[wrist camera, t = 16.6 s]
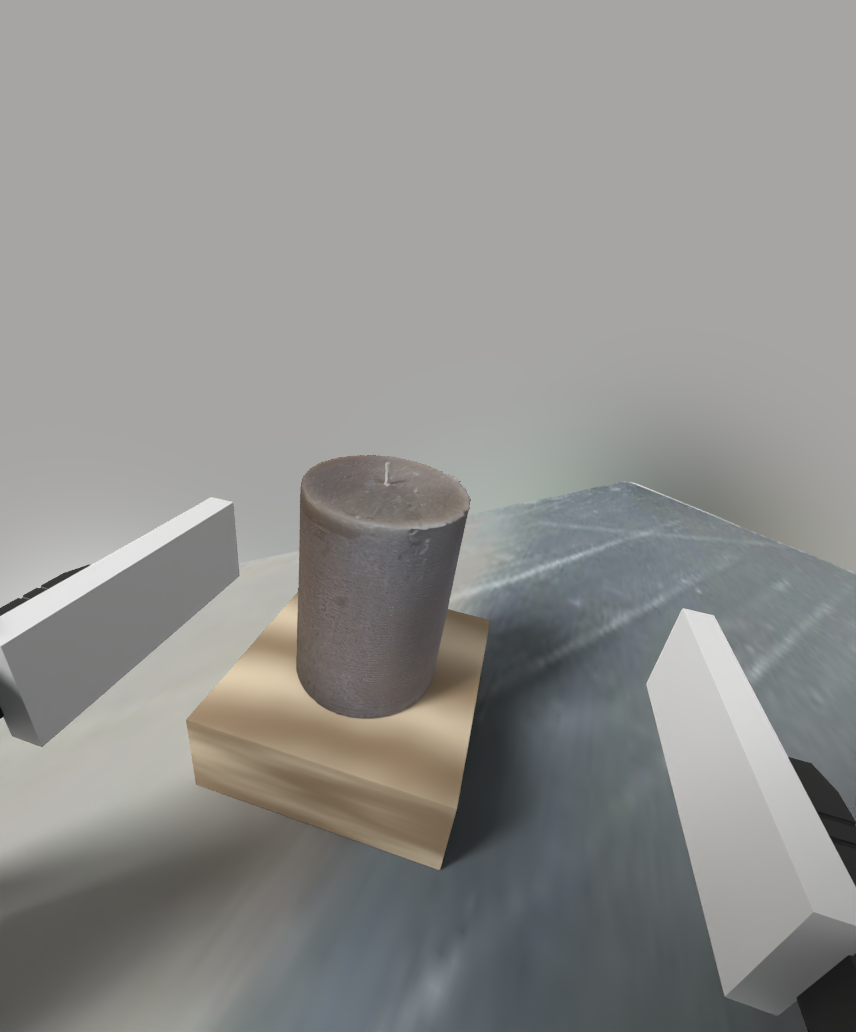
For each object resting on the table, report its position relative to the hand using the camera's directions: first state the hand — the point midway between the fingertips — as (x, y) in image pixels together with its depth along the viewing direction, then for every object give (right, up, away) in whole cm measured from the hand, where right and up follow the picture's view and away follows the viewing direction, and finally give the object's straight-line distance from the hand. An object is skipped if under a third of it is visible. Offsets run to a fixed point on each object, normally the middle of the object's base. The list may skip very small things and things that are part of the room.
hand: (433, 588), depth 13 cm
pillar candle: (-4, -8, +19) cm, 21 cm away
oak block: (-5, -13, +21) cm, 26 cm away
